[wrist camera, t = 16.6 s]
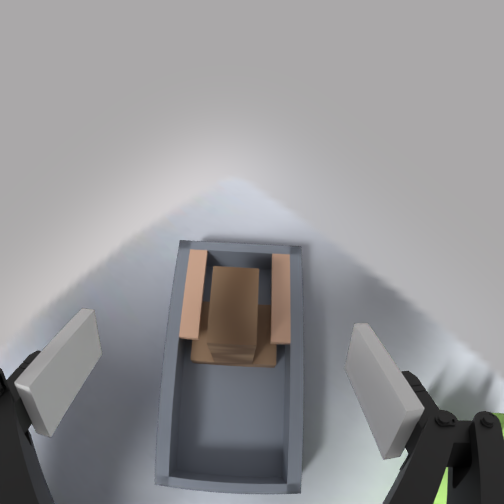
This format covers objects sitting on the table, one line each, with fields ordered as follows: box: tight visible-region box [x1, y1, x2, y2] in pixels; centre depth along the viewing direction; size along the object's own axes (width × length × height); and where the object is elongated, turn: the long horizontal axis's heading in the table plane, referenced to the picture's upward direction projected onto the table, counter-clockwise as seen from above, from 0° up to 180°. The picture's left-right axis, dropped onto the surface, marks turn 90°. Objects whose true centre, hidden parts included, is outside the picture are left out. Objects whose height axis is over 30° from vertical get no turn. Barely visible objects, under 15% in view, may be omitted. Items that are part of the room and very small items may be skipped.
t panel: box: [191, 266, 277, 368], centre depth 28 cm, size 8×6×10 cm
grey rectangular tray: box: [155, 240, 304, 494], centre depth 29 cm, size 12×24×4 cm, turn 178°
